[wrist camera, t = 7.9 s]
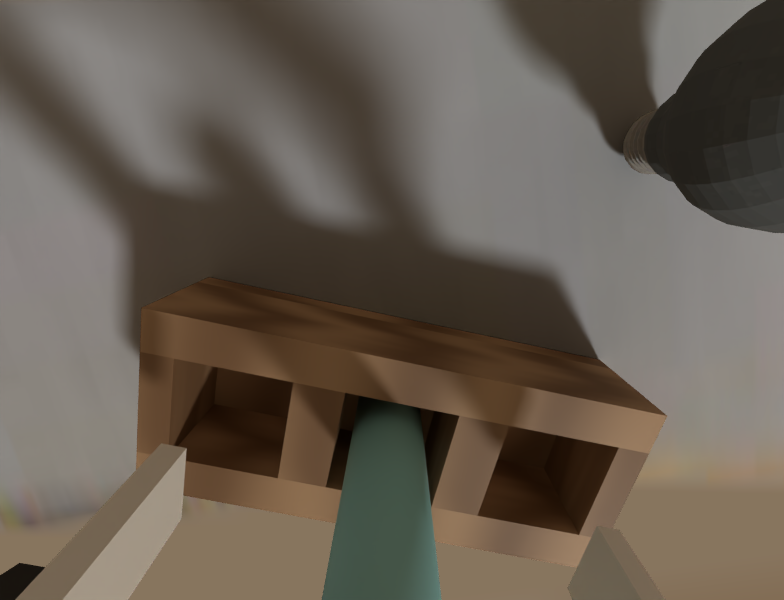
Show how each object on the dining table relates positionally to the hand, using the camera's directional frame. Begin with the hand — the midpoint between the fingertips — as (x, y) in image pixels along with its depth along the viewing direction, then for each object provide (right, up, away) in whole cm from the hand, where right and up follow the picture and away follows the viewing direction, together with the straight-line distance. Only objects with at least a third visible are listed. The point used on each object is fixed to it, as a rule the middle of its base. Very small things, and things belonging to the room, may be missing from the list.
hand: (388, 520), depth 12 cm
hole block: (0, +2, +8) cm, 8 cm away
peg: (0, +2, +7) cm, 7 cm away
